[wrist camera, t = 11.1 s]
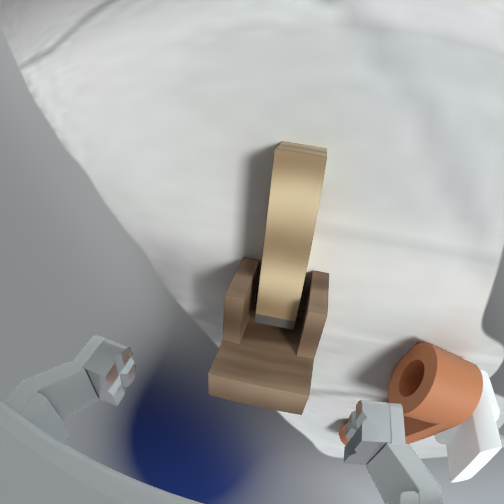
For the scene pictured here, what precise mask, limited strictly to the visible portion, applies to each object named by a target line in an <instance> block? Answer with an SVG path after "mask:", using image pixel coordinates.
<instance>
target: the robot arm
mask: <svg viewBox="0 0 504 504" xmlns="http://www.w3.org/2000/svg"><path fill="white" fill-rule="evenodd" d="M132 355H133V353H132V350H131V348H130V347H127V346H124V345H121V344H119V343H116V342H113V341H111V340H108V339H106V338H103V337H101V336H98V335H95V336H93V337H92V338H91V339H90V341H89V342H88V343H87V344H86V345H85V346H84V348H83V349H82V350H81V351H80V353H79V354H78V355H77V356H76V358H75V359H74V360H73V361H72V363H71V362H66V363H64V364H61V365H59V366H57V367H54V368H52V369H49V370H47V371H44V372H42V373H39V374H37V375H35V376H32V377H30V378H27V379H25V380H22V381H21V382H20V383H19V385H18V386H17V387H16V389H15V390H14V391H13V392H12V393H11V395H10V396H9V397H8V398H7V400H6V401H5V402H2V401H1V400H0V504H203V503H199V502H196V501H192V500H189V499H186V498H183V497H180V496H177V495H174V494H171V493H168V492H166V491H163V490H160V489H158V488H155V487H152V486H149V485H147V484H145V483H142V482H140V481H137V480H135V479H133V478H130V477H128V476H126V475H124V474H121V473H119V472H117V471H115V470H113V469H111V468H109V467H106V466H104V465H102V464H100V463H98V462H96V461H94V460H92V459H91V458H89V457H87V456H85V455H83V454H81V453H79V452H78V451H76V450H74V449H72V448H71V447H69V446H67V445H65V444H64V443H63V442H64V441H65V439H66V438H67V436H68V434H69V429H68V428H67V426H66V425H65V424H64V422H63V420H65V419H67V418H68V417H70V416H72V415H73V414H75V413H77V412H78V411H80V410H82V409H84V408H85V407H87V406H89V405H90V404H92V403H94V402H95V401H97V400H99V399H102V400H104V401H107V402H109V403H111V404H114V405H116V406H117V405H118V404H119V402H120V401H121V399H122V397H123V396H124V394H125V390H124V387H126V386H128V385H130V384H131V383H132V381H133V379H134V376H135V373H136V365H135V362H134V361H133V359H132V358H131V356H132ZM346 438H347V439H348V441H349V442H348V443H347V445H346V446H345V450H344V463H350V464H360V465H366V468H367V470H368V471H369V473H370V475H371V477H372V479H373V481H374V483H375V485H376V487H377V489H378V491H379V493H380V495H381V497H382V499H383V501H384V503H385V504H442V488H441V487H440V485H439V484H438V483H437V481H436V480H435V478H434V477H433V476H432V474H431V473H430V472H429V470H428V469H427V468H426V466H425V465H424V463H423V462H422V461H421V459H420V458H419V457H418V455H417V454H416V452H415V451H414V450H413V448H412V447H411V446H410V444H406V443H405V429H404V417H403V407H402V405H401V404H396V403H387V402H375V401H364V400H360V401H359V402H358V403H357V405H356V411H354V412H352V413H351V415H350V417H349V419H348V422H347V427H346Z"/></svg>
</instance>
